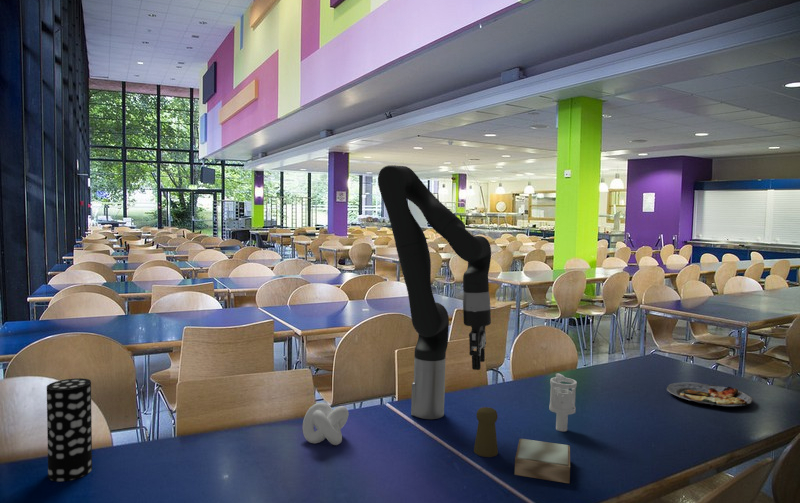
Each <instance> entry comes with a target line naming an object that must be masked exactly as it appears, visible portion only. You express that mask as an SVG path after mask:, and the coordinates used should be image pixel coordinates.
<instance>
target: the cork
mask: <svg viewBox="0 0 800 503" xmlns="http://www.w3.org/2000/svg"><path fill="white" fill-rule="evenodd" d="M498 417H499V416H498V412H497V410H496V409H494V408H493V407H489V406H488V407H487V406H482V407H480V408H478V410H477V411H476V419H477V421H478V422H477V429H476V435H475V441H474V446H473V453H474V454H476V455H478V456H479V457H484V458H492V457H496V456H497V455H498V454H499V451H498V449H499V448H498V441H497V440H498V439H497V428H496V422H497V421H498Z"/></svg>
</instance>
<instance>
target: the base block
mask: <svg viewBox="0 0 800 503" xmlns="http://www.w3.org/2000/svg"><path fill="white" fill-rule="evenodd" d="M514 458H515V459H514V475H515V476H520V477H527V478H533V479H539V480H545V481H552V482H558V483H565V484H570V480H571V479H570V478H571V446H570V445H568V444H562V443H557V442H555V443H554V442H548V441H541V440H533V439H527V438H519V440H518V444H517V449H516V452H515V457H514Z"/></svg>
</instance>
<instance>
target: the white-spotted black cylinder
mask: <svg viewBox="0 0 800 503" xmlns="http://www.w3.org/2000/svg"><path fill="white" fill-rule="evenodd" d="M46 418H47V419H46V425H47V427H46V428H47V430H46V431H47V436H46V437H47V478H48V479H49V480H50V481H53V482H68V481H73V480H77V479H79V478H83V477H84V476H87V475H88V474H89V473H90V472H92V470H93V440H92V439H93V437H92V436H93V435H92V432H93V430H92V423H93V422H92V381H91V380H90V379H88V378H80V377H79V378H67V379H62V380H56V381H53V382H51V383H48V384H47V386H46Z"/></svg>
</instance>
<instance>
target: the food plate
mask: <svg viewBox="0 0 800 503" xmlns="http://www.w3.org/2000/svg"><path fill="white" fill-rule="evenodd" d="M666 391H667V392H669V393H670V394H672V395H674V396H676V397H678V398H679V399H682V400H683V399H684V400H686V401H687V400H688V401H689V402H696V403H698V404H706V405H710V406H714V405H715V406H722V407H730V408H735V407H746V406H750V405H751V404H752V403H753V401H754V398H753V397H752V396H750V395H749V394H747V393H745V392H743V391H740V390H739V389H737V387H736V388H733V387H732V386H727V387H725V386H722V385H716V384H710V383H702V382H701V383H700V382H696V381H695V382H693V381H692V382H690V381H687V382H686V381H685V382H674V383H670V384H668V385H667V387H666Z"/></svg>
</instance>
